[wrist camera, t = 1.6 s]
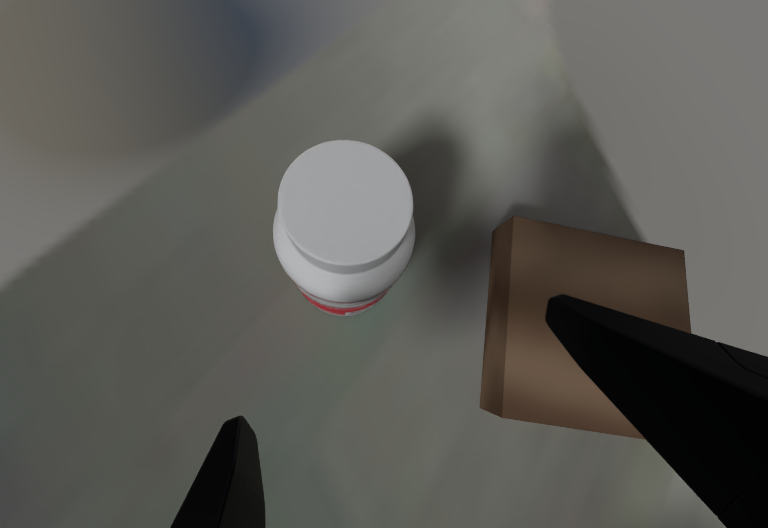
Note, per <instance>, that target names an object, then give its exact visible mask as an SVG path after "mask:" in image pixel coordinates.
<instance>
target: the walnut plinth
mask: <svg viewBox="0 0 768 528" xmlns="http://www.w3.org/2000/svg"><path fill="white" fill-rule="evenodd" d="M559 294H565V295H569V296H572V297H575V298H578V299H581V300H585V301H588V302H591V303H594V304H598V305H601V306H604V307H607V308H610V309H614V310H617V311H620V312H623V313H627V314H630V315H633V316H636V317H639V318H643V319H646V320H649V321H652V322H656V323H659V324H662V325H665V326H668V327H672V328H675V329H678V330H681V331H685V332H688V333H691V326H690V315H689V303H688V292H687V281H686V269H685V258H684V250H679V249H674V248H669V247H664V246H659V245H654V244H650V243H645V242H640V241H635V240H630V239H625V238H620V237H615V236H610V235H606V234H601V233H596V232H591V231H586V230H581V229H576V228H571V227H566V226H561V225H557V224H552V223H547V222H542V221H537V220H532V219H527V218H522V217H517V216H513V217H511V218H510V219H509V220H507V221H506V222H505V223H503V224H502V225H501V226H500V227H498V228H497V229H496V230H494V231H493V236H492V250H491V263H490V277H489V290H488V303H487V317H486V330H485V344H484V357H483V370H482V384H481V397H480V408H481V409H484V410H486V411H488V412H490V413H493V414H495V415H497V416H499V417H502V418H507V419H514V420H521V421H527V422H534V423H541V424H547V425H554V426H560V427H567V428H574V429H580V430H587V431H593V432H600V433H607V434H613V435H620V436H627V437H633V438H640V439H645V438H644V437H643V436H642V435H641V434H640V433H639V431H638V430H637V429H636V428H635V427H634V426H633V425H632V424H631V423H630V422H629V421H628V420H627V418H626V417H625V416H624V415H623V414H622V413H621V412H620V411H619V410H618V409H617V408H616V406H615V405H614V404H613V403H612V402H611V401H610V400H609V399H608V398H607V397H606V396H605V395H604V393H603V392H602V391H601V390H600V389H599V388H598V387H597V386H596V385H595V384H594V383H593V381H592V380H591V379H590V378H589V377H588V376H587V375H586V374H585V373H584V372H583V370H582V369H581V368H580V367H579V366H578V365H577V363H576V362H575V361H574V360H573V358H572V357H571V356H570V354H569V353H568V352H567V350H566V349H565V348H564V346H563V345H562V344H561V342H560V341H559V340H558V338H557V337H556V336H555V335H554V333H553V332H552V331H551V329H550V328H549V327H548V325H547V323H546V321H545V314H546V309H547V303H548V300H549V298H551V297H553V296H556V295H559Z"/></svg>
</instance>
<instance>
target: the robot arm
mask: <svg viewBox="0 0 768 528" xmlns="http://www.w3.org/2000/svg"><path fill="white" fill-rule="evenodd" d="M545 321H546V323H547V325H548V327H549V328H550V329H551V331H552V332H553V333H554V335H555V336H556V337H557V338H558V340H559V341H560V342H561V344H562V345H563V346H564V348H565V349H566V350H567V352H568V353H569V354H570V356H571V357H572V358H573V360H574V361H575V362H576V363H577V365H578V366H579V367H580V368H581V369H582V370H583V372H584V373H585V374H586V375H587V376H588V377H589V378H590V379H591V380H592V381H593V383H594V384H595V385H596V386H597V387H598V388H599V389H600V390H601V391H602V392H603V393H604V395H605V396H606V397H607V398H608V399H609V400H610V401H611V402H612V403H613V404H614V405H615V406H616V408H617V409H618V410H619V411H620V412H621V413H622V414H623V415H624V416H625V417H626V418H627V420H628V421H629V422H630V423H631V424H632V425H633V426H634V427H635V428H636V429H637V430H638V431H639V433H640V434H641V435H642V436H643V437H644V438H645V439H646V440H647V441H648V442H649V443H650V445H651V446H652V447H653V448H654V449H655V450H656V451H657V452H658V453H659V454H660V455H661V456H662V458H663V459H664V460H665V461H666V462H667V463H668V464H669V465H670V466H671V467H672V468H673V470H674V471H675V472H676V473H677V474H678V475H679V476H680V477H681V478H682V479H683V480H684V481H685V483H686V484H687V485H688V486H689V487H690V488H691V489H692V490H693V491H694V492H695V493H696V494H697V496H698V497H699V498H700V499H701V500H702V501H703V502H704V503H705V504H706V505H707V506H708V508H709V509H710V510H711V511H712V512H713V513H714V514H715V515H716V516H717V517H718V519H719V520H720V521H721V522H722V523H723V524H724V525H725V526H726V527H727V528H768V357H766V356H763V355H760V354H756V353H753V352H749V351H746V350H743V349H740V348H736V347H733V346H730V345H727V344H723V343H720V342H717V343H716V342H715V341H713V340H710V339H707V338H703V337H700V336H697V335H694V334H691V333H688V332H685V331H681V330H678V329H675V328H672V327H668V326H665V325H662V324H659V323H656V322H652V321H649V320H646V319H643V318H639V317H636V316H633V315H630V314H627V313H623V312H620V311H617V310H614V309H610V308H607V307H604V306H601V305H598V304H594V303H591V302H588V301H585V300H581V299H578V298H575V297H572V296H569V295H565V294H559V295H556V296H553V297H551V298H549V300H548V303H547V309H546V314H545ZM170 528H266V527H265V501H264V492H263V484H262V476H261V468H260V460H259V452H258V444H257V438H256V435H255V433H254V431H253V430H252V428H251V427H250V425H249V424H248V422H247V421H246V419H245V418H244V417H243V416H238V417H235V418H232V419H230V420H227V421H226V422H225V423H224V424H223V425H222V427H221V429H220V431H219V433H218V435H217V437H216V439H215V441H214V443H213V445H212V447H211V449H210V451H209V453H208V455H207V457H206V459H205V461H204V463H203V465H202V466H201V468H200V470H199V472H198V474H197V476H196V478H195V480H194V482H193V484H192V486H191V488H190V490H189V492H188V494H187V496H186V498H185V500H184V502H183V504H182V506H181V508H180V510H179V512H178V514H177V516H176V518H175V520H174V522H173V524H172V525H171V527H170Z"/></svg>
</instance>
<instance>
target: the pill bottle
mask: <svg viewBox="0 0 768 528" xmlns="http://www.w3.org/2000/svg"><path fill="white" fill-rule="evenodd" d="M273 240H274V245H275V250H276V253H277V256H278V258H279V260H280V262H281V264H282V266H283V268H284V270H285V271H286V273H287V274H288V275H289V277H290V278H291V279H292V281H293V282H294V283H295V284H296V286H297V287H298V288H299V290H300V291H301V292H302V294H303V295H304V296H305V297H306V298H307V299H308V301H309V302H311V303H312V304H313V305H314V306H315V307H317V308H318V309H320V310H322V311H324V312H326V313H329V314H333V315H338V316H349V315H355V314H359V313H362V312H364V311H366V310H368V309H370V308H371V307H373V306H374V305H375V304H376V303H378V302H379V301H380V300H381V299H382V298H383V296H384V295H385V294H386V292H387V291H388V290H389V289H390V288H391V286H392V285H393V284H394V283H395V282H396V281H397V280H398V278H399V277H400V276H401V275H402V273H403V272H404V270H405V269H406V267H407V264H408V262H409V260H410V258H411V255H412V252H413V248H414V243H415V224H414V218H413V196H412V191H411V187H410V184H409V182H408V179H407V177H406V175H405V174H404V172H403V171H402V169H401V168H400V167H399V165H398V164H397V163H396V162H395V161H394V160H393V159H392V158H391V157H390V156H389V155H387V154H386V153H385V152H383V151H381V150H380V149H378V148H376V147H374V146H372V145H369V144H367V143H363V142H359V141H353V140H334V141H329V142H324V143H321V144H319V145H316V146H314V147H312V148H310V149H308V150H306V151H305V152H304V153H302V154H301V155H300V156H298V157H297V158H296V159H295V160H294V161H293V162H292V164H291V165H290V166H289V168H288V169H287V171H286V172H285V174H284V176H283V179H282V181H281V184H280V188H279V192H278V208H277V211H276V214H275V218H274V225H273Z"/></svg>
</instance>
